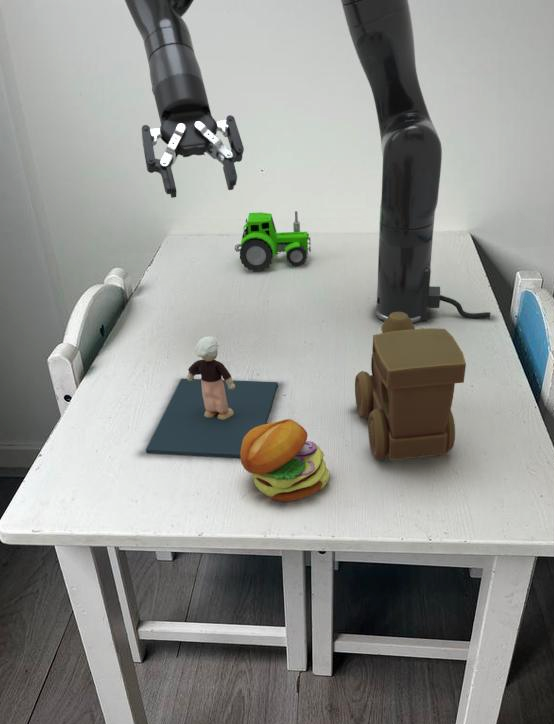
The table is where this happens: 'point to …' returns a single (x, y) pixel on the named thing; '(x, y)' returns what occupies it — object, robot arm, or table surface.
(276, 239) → the toy tractor
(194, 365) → the grandmother figurine
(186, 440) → the mat
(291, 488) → the cheeseburger
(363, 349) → the table surface
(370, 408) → the wooden toy train
